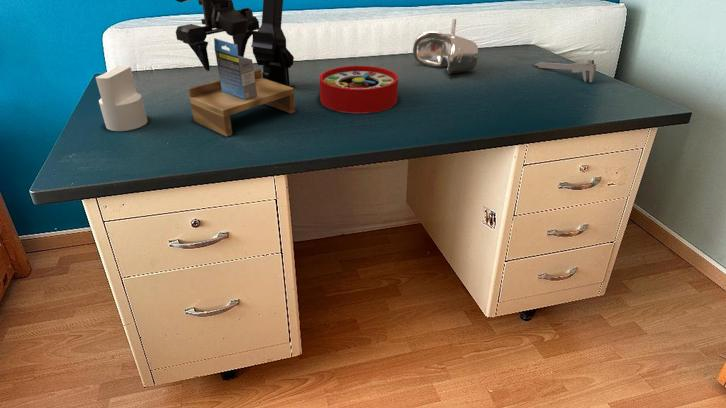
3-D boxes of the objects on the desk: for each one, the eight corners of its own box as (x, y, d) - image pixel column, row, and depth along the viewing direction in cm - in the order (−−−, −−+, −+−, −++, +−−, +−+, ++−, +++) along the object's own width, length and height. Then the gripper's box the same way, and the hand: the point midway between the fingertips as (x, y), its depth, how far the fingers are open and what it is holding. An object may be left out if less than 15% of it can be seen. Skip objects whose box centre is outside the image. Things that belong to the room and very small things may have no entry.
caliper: (593, 83, 142) (598, 61, 139) (590, 83, 142) (596, 61, 138) (536, 65, 157) (540, 45, 153) (534, 66, 156) (537, 45, 153)
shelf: (261, 99, 130) (258, 68, 126) (295, 111, 123) (293, 79, 119) (193, 121, 117) (187, 88, 113) (226, 136, 110) (221, 101, 106)
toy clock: (304, 82, 123) (341, 62, 139) (305, 105, 126) (341, 82, 142) (379, 94, 116) (409, 71, 132) (378, 118, 119) (408, 93, 135)
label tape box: (258, 96, 115) (252, 41, 108) (243, 100, 112) (236, 44, 106) (234, 88, 120) (227, 34, 113) (220, 92, 117) (211, 38, 111)
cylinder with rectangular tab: (133, 132, 112) (120, 79, 106) (97, 129, 113) (81, 77, 107) (155, 117, 120) (143, 67, 113) (120, 115, 121) (107, 65, 115)
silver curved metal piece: (411, 65, 157) (413, 16, 150) (439, 59, 163) (442, 12, 155) (449, 79, 144) (454, 27, 137) (478, 73, 150) (484, 22, 142)
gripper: (198, 5, 99) (210, 82, 107) (271, -7, 111) (277, 64, 119) (167, -2, 105) (181, 72, 114) (240, -12, 117) (248, 55, 126)
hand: (224, 66), depth 118 cm, fingers open, 9 cm apart
